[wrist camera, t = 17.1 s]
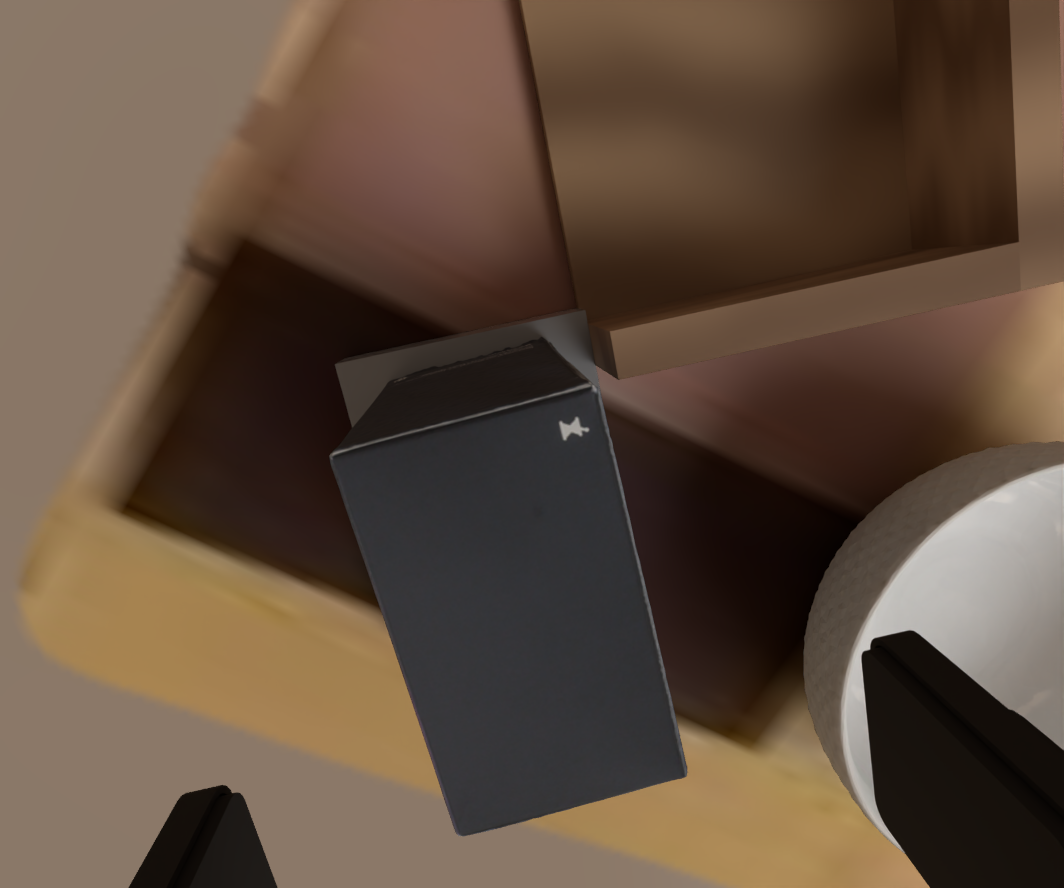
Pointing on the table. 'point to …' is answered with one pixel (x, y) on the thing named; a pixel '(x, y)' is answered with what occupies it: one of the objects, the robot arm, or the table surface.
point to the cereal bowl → (947, 596)
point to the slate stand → (463, 354)
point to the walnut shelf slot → (795, 164)
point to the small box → (511, 585)
